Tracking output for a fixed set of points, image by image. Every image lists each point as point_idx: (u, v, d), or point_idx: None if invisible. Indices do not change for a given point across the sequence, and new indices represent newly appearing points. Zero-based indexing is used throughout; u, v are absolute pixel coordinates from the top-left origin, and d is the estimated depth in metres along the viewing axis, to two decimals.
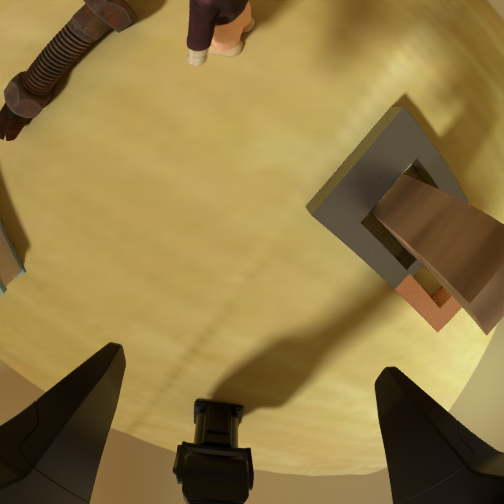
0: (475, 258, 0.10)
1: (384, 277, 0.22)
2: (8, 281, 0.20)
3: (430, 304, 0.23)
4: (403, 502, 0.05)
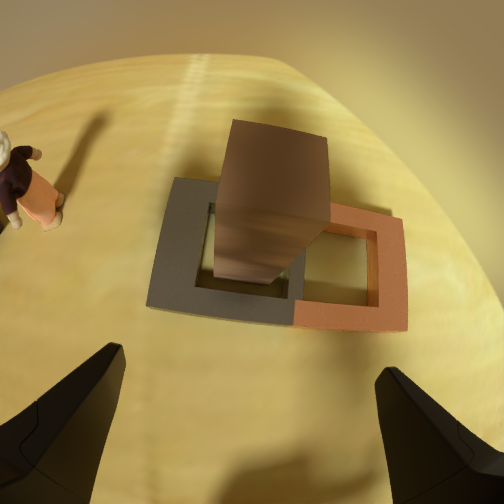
0: None
1: (267, 321, 0.20)
2: None
3: (359, 312, 0.21)
4: (403, 502, 0.05)
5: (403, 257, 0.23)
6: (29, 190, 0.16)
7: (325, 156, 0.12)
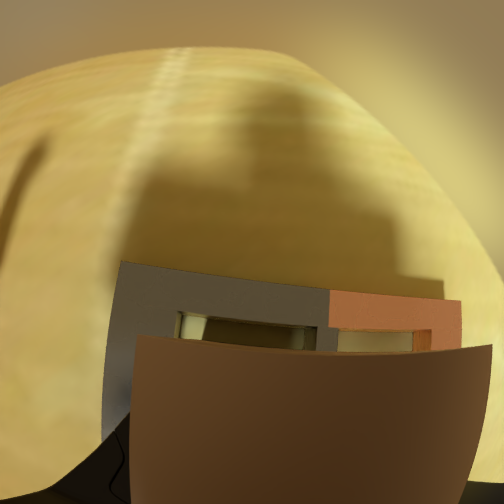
0: None
1: None
2: None
3: None
4: None
5: None
6: None
7: (479, 426, 0.02)
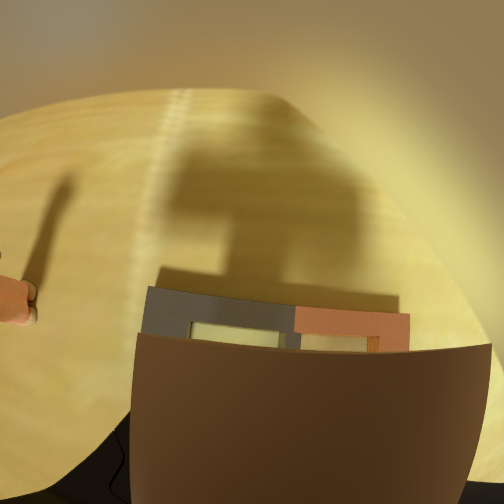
0: None
1: None
2: None
3: None
4: None
5: None
6: None
7: (478, 425, 0.02)
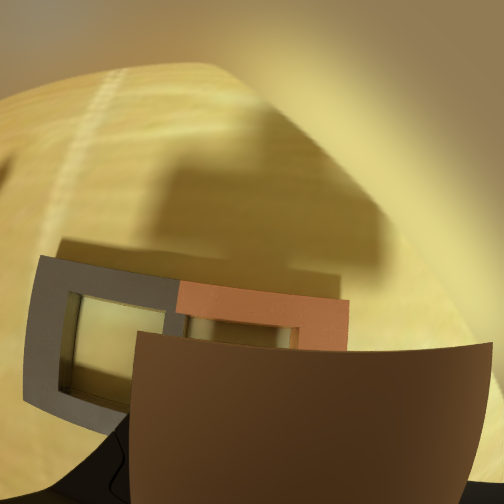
0: None
1: None
2: None
3: None
4: None
5: None
6: None
7: (479, 424, 0.02)
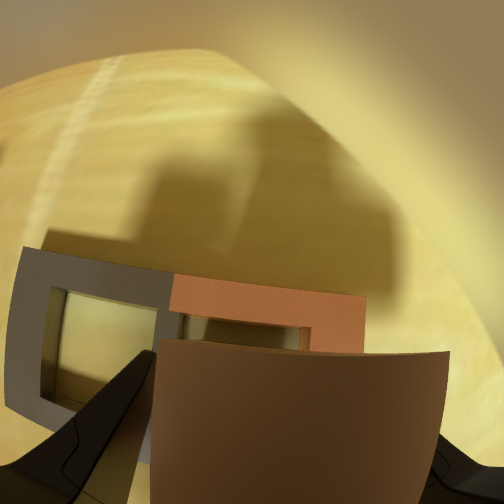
0: None
1: None
2: None
3: None
4: None
5: None
6: None
7: (437, 421, 0.03)
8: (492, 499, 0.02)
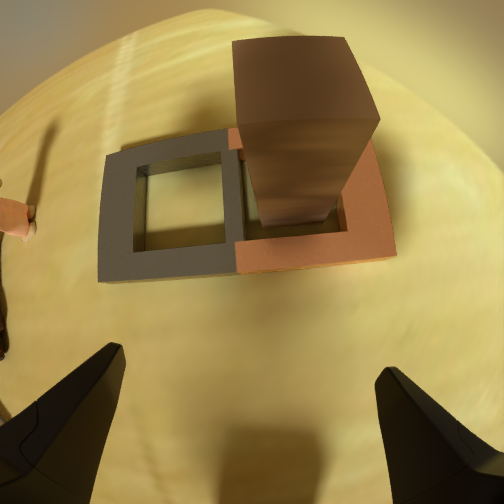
0: None
1: (207, 272, 0.18)
2: None
3: (321, 241, 0.18)
4: (403, 502, 0.05)
5: (374, 164, 0.18)
6: None
7: (350, 54, 0.08)
8: None
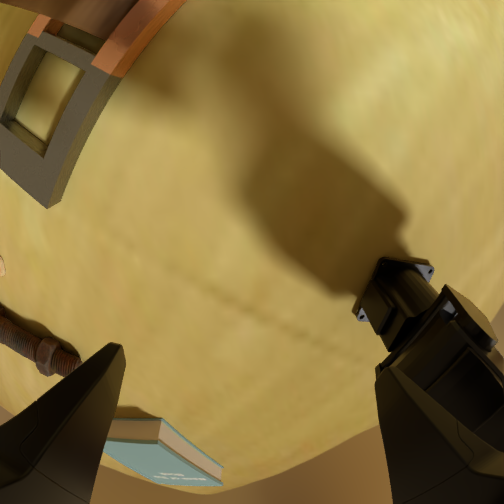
0: None
1: (92, 99, 0.13)
2: (157, 435, 0.30)
3: None
4: (403, 502, 0.05)
5: None
6: None
7: None
8: None
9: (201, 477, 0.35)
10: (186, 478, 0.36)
